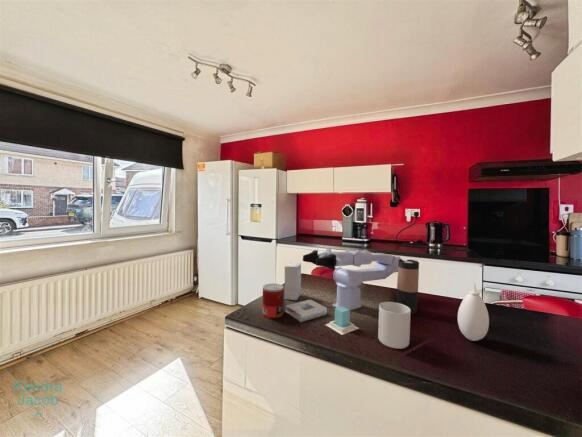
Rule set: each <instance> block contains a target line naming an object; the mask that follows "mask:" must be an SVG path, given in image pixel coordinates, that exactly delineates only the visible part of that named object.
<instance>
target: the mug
mask: <svg viewBox="0 0 582 437" xmlns="http://www.w3.org/2000/svg"><path fill="white" fill-rule="evenodd" d="M411 315H412V314H411V310H410V308H409V307H407V306H405V305H403V304H400V303H397V302H394V301H384V302H381V303H379V304H378V321H377V322H378V323H377V324H378V325H377V326H378V327H377V328H378V331H377V338H378V340H379V342H380V343H381V344H382V345H383V346H386V347H389V348H391V349H396V350H398V349H399V350H400V349H401V350H402V349H405V348H408V347H409V345H410V337H411V336H410V334H411Z"/></svg>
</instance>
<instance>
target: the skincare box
mask: <svg viewBox="0 0 582 437" xmlns="http://www.w3.org/2000/svg"><path fill="white" fill-rule="evenodd" d="M301 295H302V263H298V262H289V263H288V264H286V265H285V266H284V300H289V301H298V299H299V297H300V296H301Z"/></svg>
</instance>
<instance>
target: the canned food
mask: <svg viewBox="0 0 582 437" xmlns="http://www.w3.org/2000/svg"><path fill="white" fill-rule="evenodd" d="M284 301H285V285H283V284H280V283H267V284H264V285H262V316H263V318H268V319H278V318H281V317H283V315H284V309H285V308H284V306H285V304H284Z"/></svg>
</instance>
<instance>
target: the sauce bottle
mask: <svg viewBox="0 0 582 437" xmlns="http://www.w3.org/2000/svg"><path fill="white" fill-rule="evenodd" d="M457 324H458V329H459V330H460V332H461V334H462V335H463V336H464V337H465V338H466V339H468V341H471V342H476V341H477V342H478V341H479V340H482V339H484V337H485V336H487V333H488V332H489V326H490V317H489V311H488V308H487V306H486V303H485V302H484V300H483V298H482V297H481V296H480V292H479V291H477V290H476V283H474V284H473V290H470V291H469V292H468V293H467V295H465V296H464V297H463V300H462V301H461V302H460V305H459V307H458V311H457Z"/></svg>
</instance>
